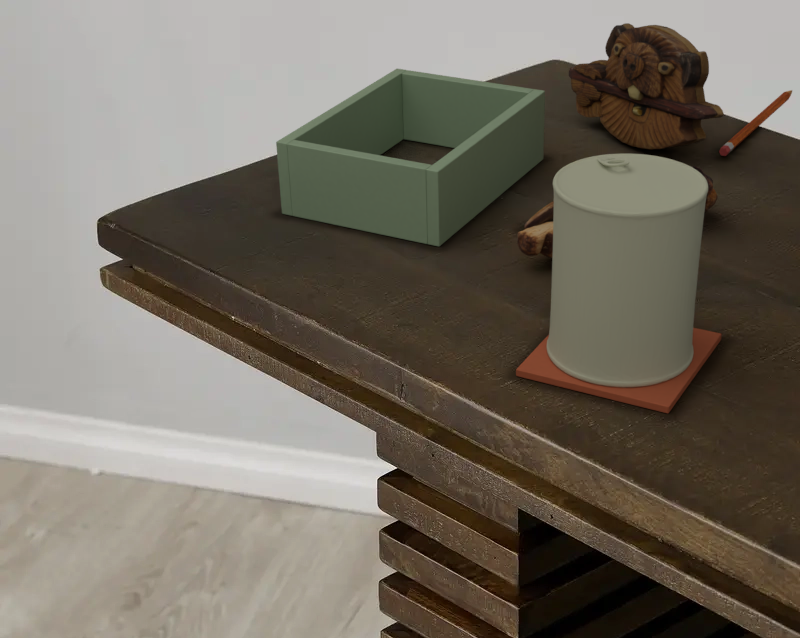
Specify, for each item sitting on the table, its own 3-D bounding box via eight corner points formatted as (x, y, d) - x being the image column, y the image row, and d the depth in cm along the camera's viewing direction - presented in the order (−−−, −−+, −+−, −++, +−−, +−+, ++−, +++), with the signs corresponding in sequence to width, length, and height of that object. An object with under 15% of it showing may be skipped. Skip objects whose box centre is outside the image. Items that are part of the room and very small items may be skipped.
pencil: (718, 155, 116) (718, 147, 116) (788, 93, 129) (788, 86, 129) (727, 156, 116) (727, 148, 116) (796, 94, 129) (796, 86, 128)
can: (653, 307, 93) (667, 137, 87) (719, 373, 85) (739, 192, 79) (525, 329, 91) (529, 156, 85) (580, 399, 83) (589, 215, 77)
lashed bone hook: (656, 191, 112) (470, 241, 104) (660, 135, 109) (470, 181, 101) (737, 227, 105) (545, 283, 97) (743, 168, 102) (546, 220, 94)
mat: (721, 340, 90) (721, 333, 90) (668, 414, 83) (668, 406, 82) (578, 308, 94) (578, 302, 94) (515, 376, 87) (515, 369, 87)
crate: (543, 159, 117) (545, 90, 114) (439, 247, 103) (438, 171, 100) (398, 134, 123) (396, 68, 120) (281, 214, 109) (275, 141, 106)
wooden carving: (551, 126, 123) (554, 14, 118) (587, 113, 126) (592, 3, 121) (696, 178, 113) (707, 57, 107) (732, 163, 115) (744, 44, 110)
